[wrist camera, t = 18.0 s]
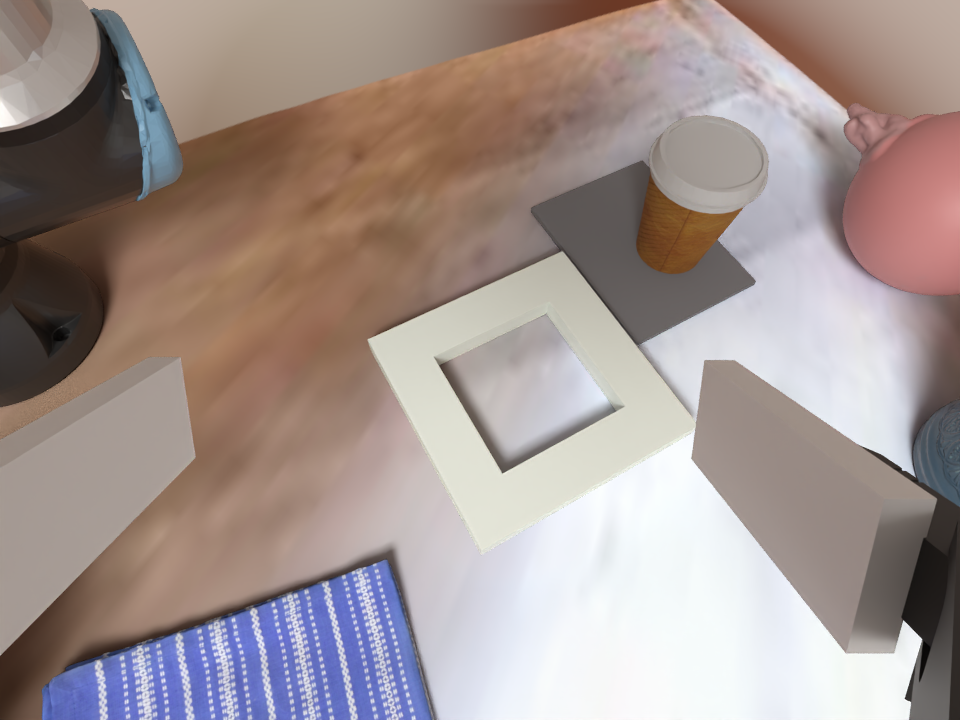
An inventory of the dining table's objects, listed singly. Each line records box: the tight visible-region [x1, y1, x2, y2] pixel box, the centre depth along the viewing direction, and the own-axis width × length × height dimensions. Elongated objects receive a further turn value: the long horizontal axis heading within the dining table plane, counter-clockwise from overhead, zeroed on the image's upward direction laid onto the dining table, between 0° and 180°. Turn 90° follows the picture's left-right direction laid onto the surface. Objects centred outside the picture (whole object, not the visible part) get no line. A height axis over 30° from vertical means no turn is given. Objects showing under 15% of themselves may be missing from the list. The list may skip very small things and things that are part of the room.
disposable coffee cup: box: [636, 115, 769, 274], centre depth 51 cm, size 10×10×12 cm
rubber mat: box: [531, 161, 756, 346], centre depth 57 cm, size 18×14×1 cm
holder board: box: [368, 251, 696, 555], centre depth 49 cm, size 20×20×2 cm
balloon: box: [843, 103, 960, 296], centre depth 51 cm, size 15×20×15 cm
